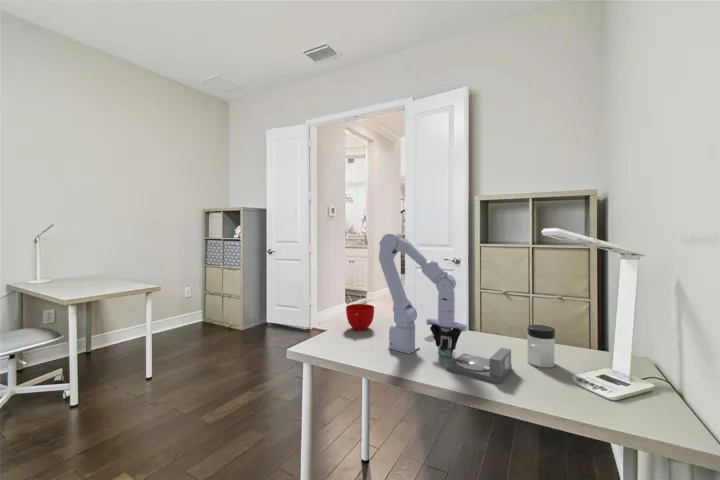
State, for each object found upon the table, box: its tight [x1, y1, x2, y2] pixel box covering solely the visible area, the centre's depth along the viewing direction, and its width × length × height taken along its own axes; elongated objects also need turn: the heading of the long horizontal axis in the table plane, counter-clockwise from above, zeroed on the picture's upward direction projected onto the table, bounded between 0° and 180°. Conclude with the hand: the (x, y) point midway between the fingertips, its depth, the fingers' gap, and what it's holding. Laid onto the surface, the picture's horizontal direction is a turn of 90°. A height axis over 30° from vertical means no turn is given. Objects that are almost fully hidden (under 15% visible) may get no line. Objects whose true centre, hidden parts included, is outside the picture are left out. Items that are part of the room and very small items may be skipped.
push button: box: [437, 327, 457, 358], centre depth 120 cm, size 7×5×10 cm
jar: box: [526, 324, 556, 369], centre depth 113 cm, size 9×8×12 cm
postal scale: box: [446, 347, 513, 385], centre depth 108 cm, size 16×14×6 cm
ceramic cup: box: [345, 303, 375, 331], centre depth 153 cm, size 13×17×10 cm
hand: (445, 347), depth 121 cm, fingers closed on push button, 5 cm apart
